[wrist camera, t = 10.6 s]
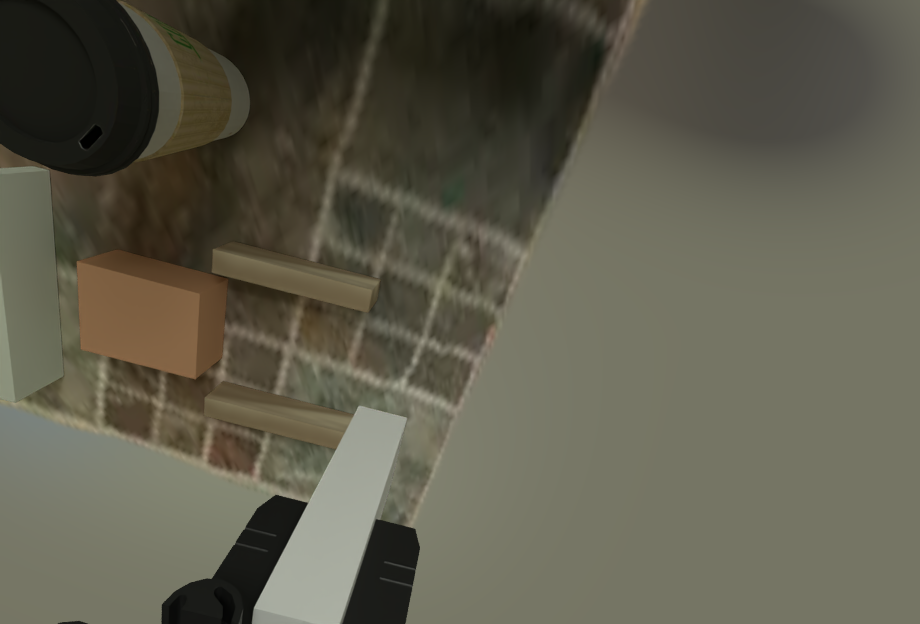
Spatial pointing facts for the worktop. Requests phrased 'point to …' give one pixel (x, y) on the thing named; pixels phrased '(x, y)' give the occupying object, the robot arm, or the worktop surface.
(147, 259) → the block
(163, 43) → the coffee cup
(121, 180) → the worktop surface
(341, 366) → the worktop surface
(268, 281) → the chute
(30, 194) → the board
